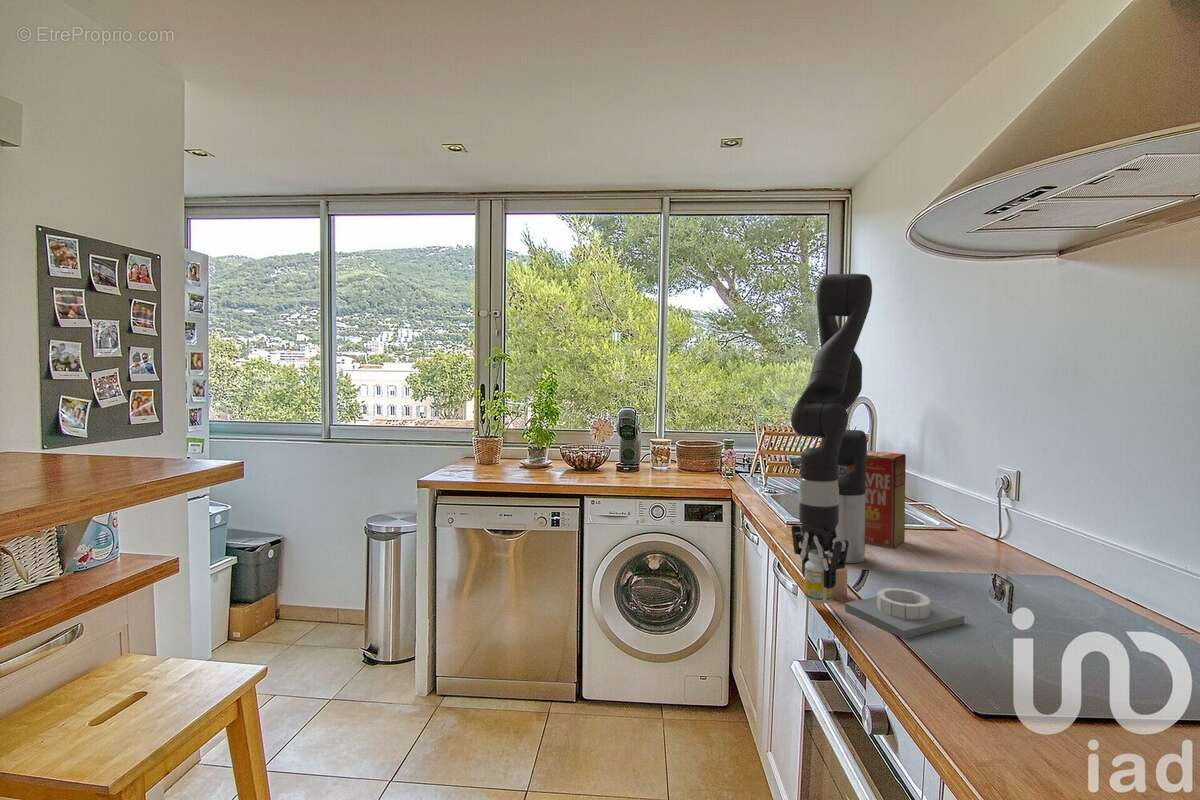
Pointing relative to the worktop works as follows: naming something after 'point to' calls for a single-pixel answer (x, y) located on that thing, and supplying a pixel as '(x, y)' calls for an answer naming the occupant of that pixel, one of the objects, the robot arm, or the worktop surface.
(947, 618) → the collar board
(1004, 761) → the worktop surface
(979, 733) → the worktop surface
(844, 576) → the peach pill-shaped knob
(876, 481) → the food packaging
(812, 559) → the supplement bottle
